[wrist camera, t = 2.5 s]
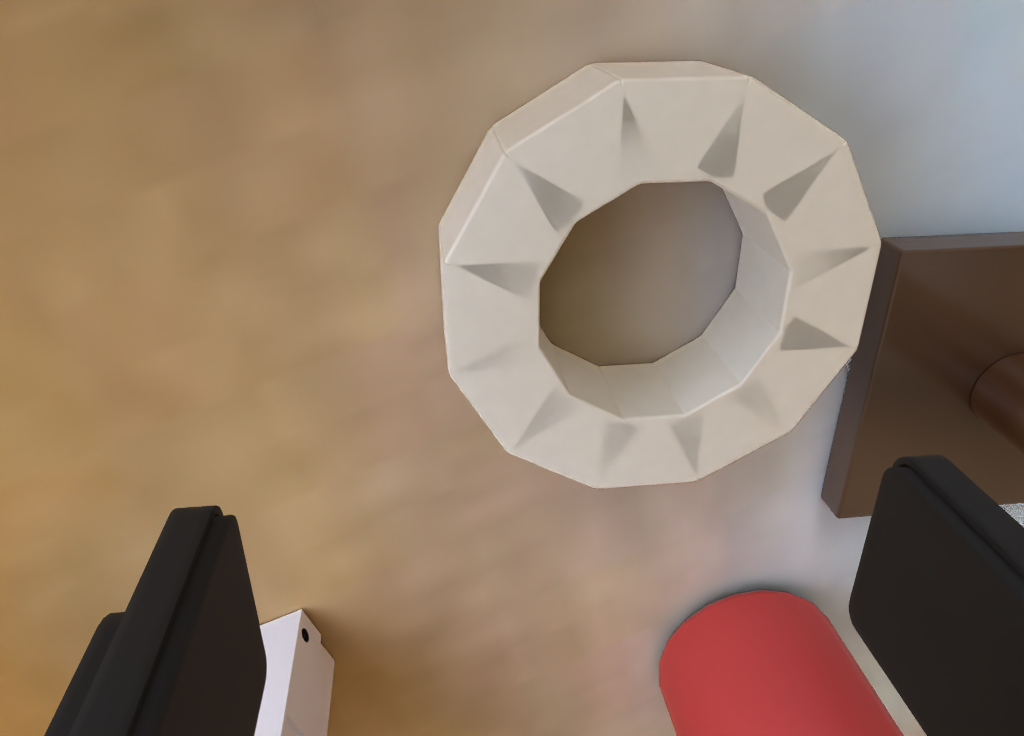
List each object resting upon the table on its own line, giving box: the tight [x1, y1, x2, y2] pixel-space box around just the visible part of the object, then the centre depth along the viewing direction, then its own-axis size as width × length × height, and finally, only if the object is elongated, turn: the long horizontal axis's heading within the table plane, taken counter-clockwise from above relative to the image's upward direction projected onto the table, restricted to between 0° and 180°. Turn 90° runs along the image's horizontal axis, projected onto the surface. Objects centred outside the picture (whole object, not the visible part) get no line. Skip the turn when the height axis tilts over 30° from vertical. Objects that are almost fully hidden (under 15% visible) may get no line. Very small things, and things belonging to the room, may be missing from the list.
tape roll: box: [438, 61, 881, 489], centre depth 19 cm, size 10×10×3 cm
